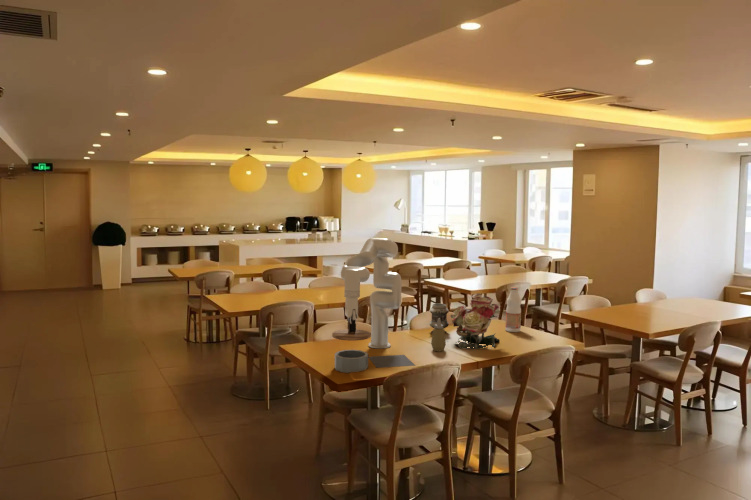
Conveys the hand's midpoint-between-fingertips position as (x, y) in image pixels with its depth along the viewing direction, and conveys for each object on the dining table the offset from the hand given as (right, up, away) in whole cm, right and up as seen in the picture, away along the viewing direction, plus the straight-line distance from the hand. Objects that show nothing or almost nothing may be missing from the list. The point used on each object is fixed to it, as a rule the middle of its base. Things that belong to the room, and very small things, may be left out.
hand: (351, 330), depth 280 cm
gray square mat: (+20, -18, +13) cm, 30 cm away
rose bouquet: (+69, -16, +51) cm, 87 cm away
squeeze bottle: (+47, -16, +37) cm, 62 cm away
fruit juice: (+100, -13, +87) cm, 133 cm away
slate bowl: (0, -19, +2) cm, 19 cm away
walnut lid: (0, -3, 0) cm, 3 cm away
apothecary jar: (+52, -13, +79) cm, 95 cm away
